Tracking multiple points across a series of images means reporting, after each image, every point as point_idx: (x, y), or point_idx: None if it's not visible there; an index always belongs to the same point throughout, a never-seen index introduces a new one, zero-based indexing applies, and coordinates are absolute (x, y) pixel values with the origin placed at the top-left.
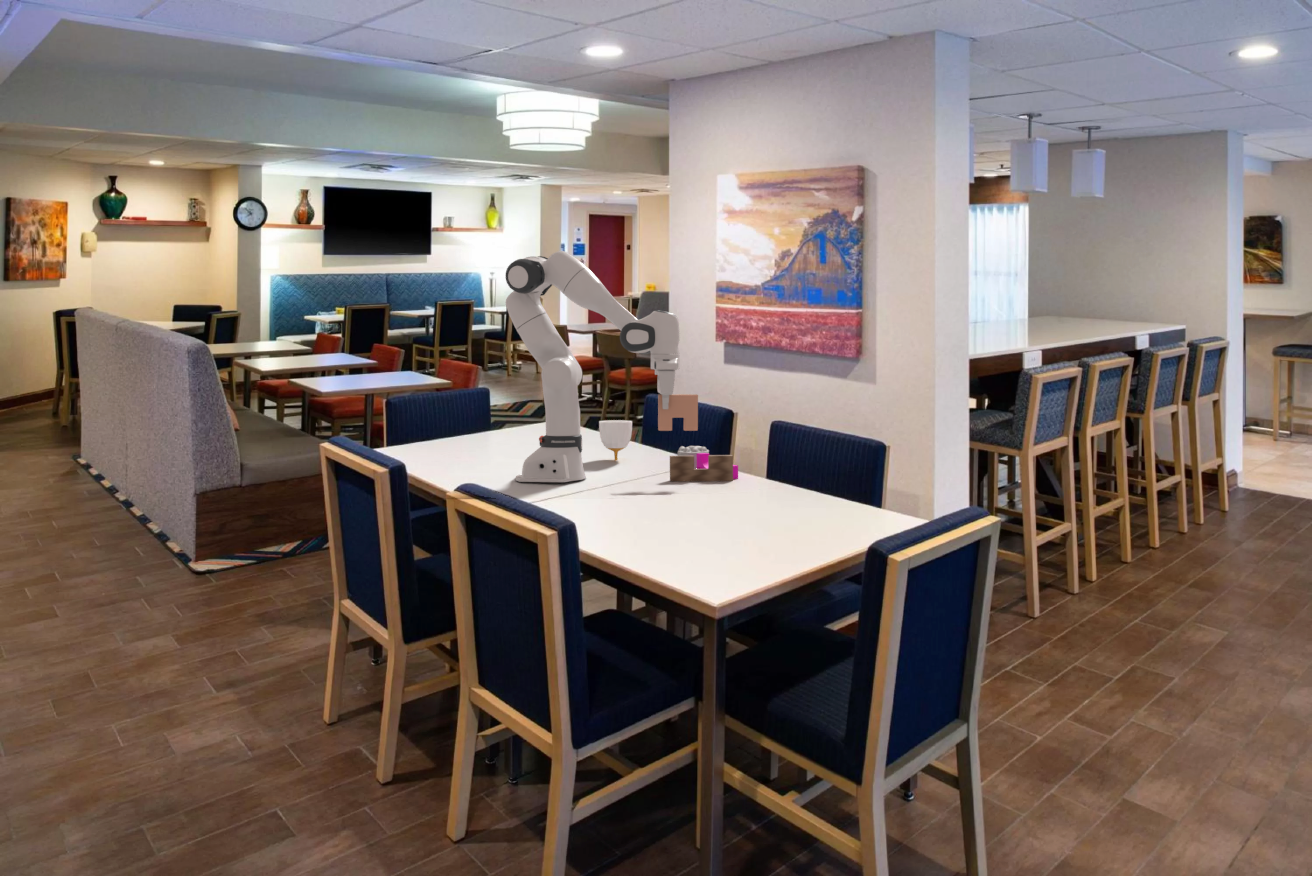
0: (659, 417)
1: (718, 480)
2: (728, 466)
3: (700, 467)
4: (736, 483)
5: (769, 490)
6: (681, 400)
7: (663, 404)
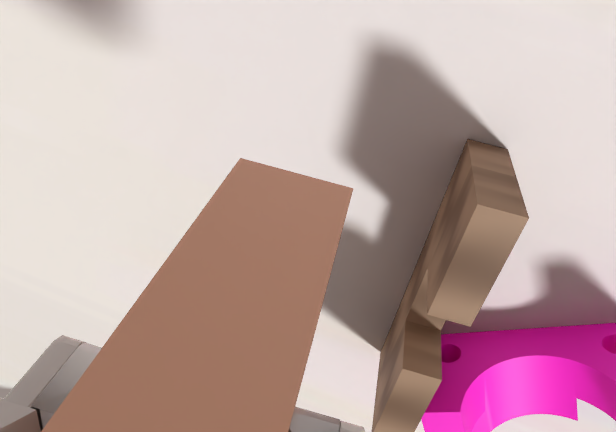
0: (184, 240)
1: (396, 315)
2: (380, 386)
3: (611, 353)
4: None
5: None
6: None
7: (17, 393)
